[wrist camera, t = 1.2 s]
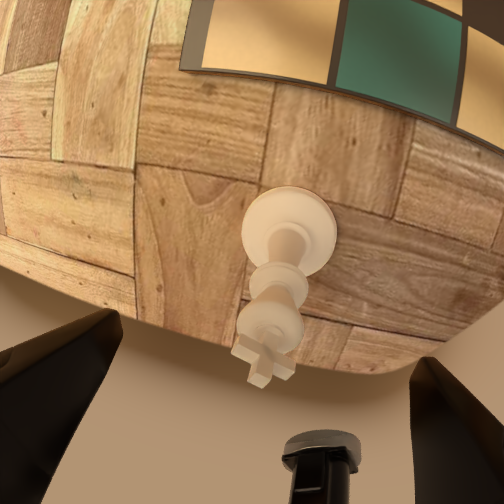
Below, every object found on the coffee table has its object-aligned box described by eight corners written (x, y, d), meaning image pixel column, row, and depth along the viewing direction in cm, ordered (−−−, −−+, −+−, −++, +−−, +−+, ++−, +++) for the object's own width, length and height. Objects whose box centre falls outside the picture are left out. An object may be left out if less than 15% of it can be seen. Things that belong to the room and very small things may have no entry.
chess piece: (303, 289, 17) (288, 448, 8) (227, 245, 17) (144, 382, 8) (355, 219, 15) (403, 360, 6) (271, 167, 15) (209, 252, 6)
